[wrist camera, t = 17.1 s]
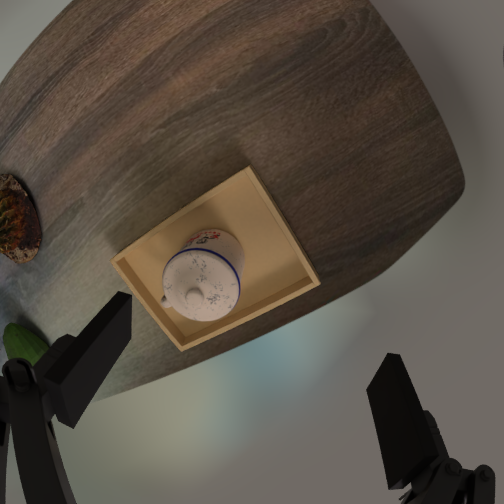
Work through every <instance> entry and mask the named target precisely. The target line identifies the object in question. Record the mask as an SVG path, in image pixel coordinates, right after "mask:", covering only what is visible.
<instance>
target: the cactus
mask: <svg viewBox="0 0 504 504" xmlns="http://www.w3.org/2000/svg"><path fill="white" fill-rule="evenodd" d="M41 236H42V233H41V230H40V226H39V222H38V218H37V214H36V211H35V209H34V207H33V205H32V203H31V202H30V201H29V199H28V195H27V193H26V192H25V191H24V189H23V188H22V187H21V185H20V184H19V183H18V182H17V181H16V180H15V178H13V176H12V175H10V174H2V175H0V253H2V254H4V255H6V256H7V257H9V258H10V259H11V260H13V261H14V262H15V263H16V264H17V263H26V262H28V261H30V260H32V259H33V258H34V256H35V255H36V253H37V251H38V248H39V244H40V241H42V239H41Z"/></svg>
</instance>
